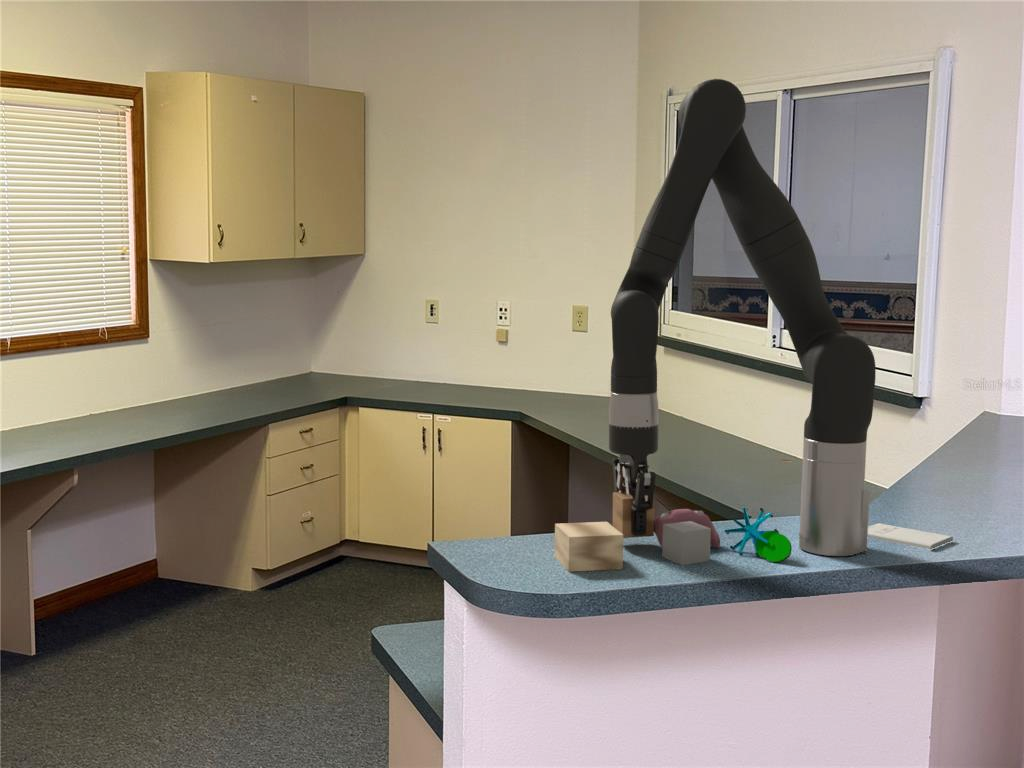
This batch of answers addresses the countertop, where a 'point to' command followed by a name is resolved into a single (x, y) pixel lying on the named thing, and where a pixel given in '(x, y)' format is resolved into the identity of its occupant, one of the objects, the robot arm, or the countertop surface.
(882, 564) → the countertop surface
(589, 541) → the birch block
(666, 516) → the video game controller
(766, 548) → the stick construction toy
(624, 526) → the walnut block
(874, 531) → the external hard drive
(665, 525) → the grey cube
